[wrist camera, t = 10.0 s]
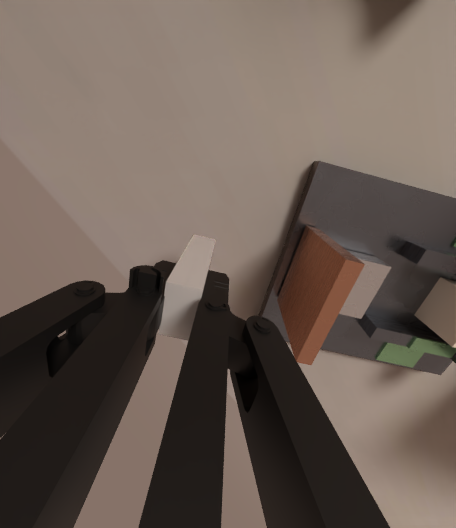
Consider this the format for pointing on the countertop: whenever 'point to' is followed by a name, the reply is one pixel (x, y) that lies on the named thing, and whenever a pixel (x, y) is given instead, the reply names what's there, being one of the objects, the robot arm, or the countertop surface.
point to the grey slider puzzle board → (386, 249)
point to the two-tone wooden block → (325, 290)
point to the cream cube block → (440, 310)
